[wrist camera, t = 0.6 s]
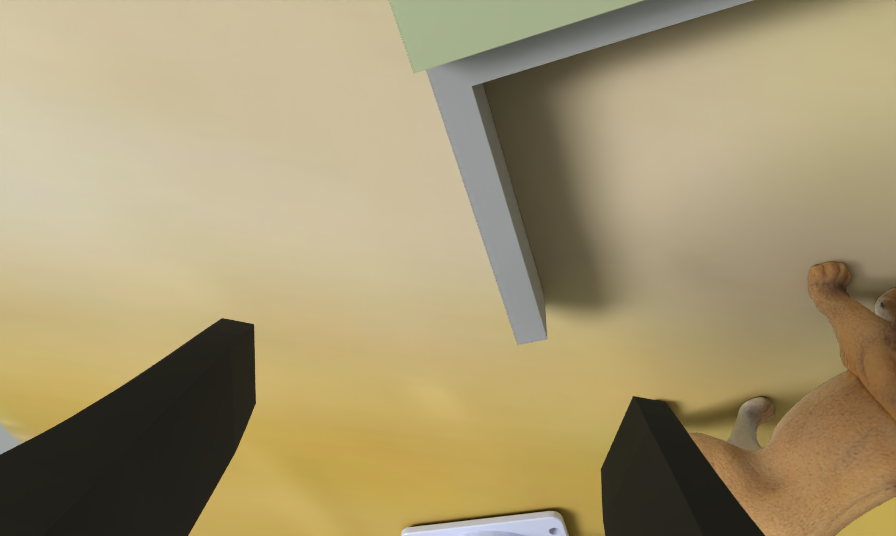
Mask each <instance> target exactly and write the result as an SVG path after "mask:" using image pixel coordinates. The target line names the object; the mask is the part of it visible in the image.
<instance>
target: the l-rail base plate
mask: <svg viewBox="0 0 896 536" xmlns="http://www.w3.org/2000/svg"><path fill="white" fill-rule="evenodd" d="M749 1H753V0H389V3H390V6H391V8H392V11H393V14H394V17H395V20H396V23H397V26H398V29H399V32H400V35H401V38H402V40H403V43H404V46H405V49H406V52H407V55H408V58H409V61H410V64H411V67H412V70H413V73H417V72H420V71H424V70H426V71H427V74H428V77H429V80H430V83H431V86H432V89H433V92H434V95H435V98H436V101H437V104H438V107H439V110H440V113H441V116H442V119H443V122H444V125H445V128H446V131H447V134H448V137H449V140H450V143H451V146H452V149H453V152H454V155H455V158H456V161H457V164H458V167H459V170H460V173H461V176H462V179H463V182H464V185H465V188H466V191H467V194H468V197H469V200H470V203H471V206H472V210H473V213H474V216H475V219H476V222H477V225H478V228H479V231H480V234H481V237H482V240H483V243H484V246H485V249H486V252H487V255H488V258H489V261H490V264H491V267H492V270H493V273H494V276H495V279H496V282H497V285H498V288H499V291H500V294H501V297H502V300H503V303H504V306H505V309H506V312H507V315H508V318H509V321H510V324H511V327H512V330H513V333H514V336H515V339H516V342H517V345H519V344H525V343H530V342H535V341H541V340H546V339H547V327H546V313H545V298H544V293H543V290H542V286H541V283H540V280H539V276H538V273H537V269H536V266H535V262H534V259H533V255H532V252H531V249H530V245H529V242H528V238H527V235H526V231H525V228H524V224H523V221H522V217H521V214H520V211H519V207H518V204H517V200H516V197H515V193H514V190H513V186H512V183H511V179H510V176H509V173H508V169H507V166H506V162H505V159H504V155H503V152H502V148H501V145H500V142H499V138H498V135H497V131H496V128H495V124H494V121H493V117H492V114H491V110H490V107H489V104H488V100H487V97H486V93H485V90H484V86H483V83H484V82H487V81H491V80H494V79H497V78H500V77H504V76H507V75H510V74H513V73H517V72H520V71H523V70H527V69H530V68H533V67H536V66H540V65H543V64H546V63H550V62H553V61H556V60H559V59H563V58H566V57H569V56H572V55H576V54H579V53H582V52H586V51H589V50H592V49H595V48H599V47H602V46H605V45H609V44H612V43H615V42H618V41H622V40H625V39H628V38H631V37H635V36H638V35H641V34H645V33H648V32H651V31H654V30H658V29H661V28H664V27H668V26H671V25H674V24H677V23H681V22H684V21H687V20H690V19H694V18H697V17H700V16H704V15H707V14H710V13H713V12H717V11H720V10H723V9H727V8H730V7H733V6H736V5H740V4H743V3H746V2H749Z"/></svg>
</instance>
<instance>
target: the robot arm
mask: <svg viewBox="0 0 896 536" xmlns="http://www.w3.org/2000/svg"><path fill="white" fill-rule="evenodd" d="M255 404H256V393H255V347H254V324H250V323H245V322H239V321H234V320H229V319H223V318H222V319H220V320H219V321H217V322H216V323H214V324H213V325H211V326H210V327H208V328H207V329H205V330H204V331H202V332H201V333H200V334H198V335H197V336H195V337H194V338H192V339H191V340H189V341H188V342H187V343H185V344H184V345H182V346H181V347H179V348H178V349H176V350H175V351H174V352H172V353H171V354H169V355H168V356H166V357H165V358H163V359H162V360H161V361H159V362H158V363H156V364H155V365H153V366H152V367H150V368H149V369H147V370H145V371H144V372H142V373H141V374H139V375H138V376H136V377H135V378H133V379H132V380H130V381H129V382H127V383H126V384H124V385H123V386H121V387H120V388H118V389H117V390H115V391H113V392H112V393H110V394H108V395H107V396H105V397H104V398H102V399H100V400H99V401H97V402H95V403H94V404H92V405H90V406H89V407H87V408H85V409H84V410H82V411H80V412H79V413H77V414H75V415H74V416H72V417H70V418H69V419H67V420H65V421H63V422H62V423H60V424H58V425H56V426H55V427H53V428H51V429H49V430H47V431H45V432H43V433H42V434H40V435H38V436H36V437H34V438H32V439H30V440H28V441H26V442H24V443H22V444H20V445H18V446H16V447H15V448H13V449H11V450H9V451H7V452H5V453H3V454H1V455H0V536H188V535H189V533H190V531H191V530H192V528H193V526H194V524H195V523H196V521H197V519H198V517H199V516H200V514H201V512H202V510H203V509H204V507H205V505H206V503H207V502H208V500H209V498H210V496H211V495H212V493H213V491H214V489H215V488H216V486H217V484H218V482H219V481H220V479H221V477H222V475H223V473H224V472H225V470H226V468H227V466H228V465H229V463H230V461H231V459H232V457H233V456H234V454H235V452H236V450H237V447H238V445H239V443H240V440H241V438H242V436H243V433H244V431H245V429H246V426H247V424H248V421H249V419H250V416H251V414H252V411H253V409H254V406H255ZM601 482H602V507H603V523H604V529H605V536H765V535H764V533H763V532H762V531H761V530H760V529H759V527H758V526H757V525H756V524H755V522H754V521H753V520H752V518H751V517H750V516H749V515H748V513H747V512H746V511H745V510H744V508H743V507H742V506H741V504H740V503H739V502H738V501H737V499H736V498H735V497H734V495H733V494H732V493H731V491H730V490H729V489H728V487H727V486H726V485H725V483H724V482H723V481H722V479H721V478H720V477H719V475H718V474H717V473H716V471H715V470H714V469H713V467H712V466H711V464H710V463H709V462H708V460H707V459H706V458H705V456H704V455H703V453H702V452H701V451H700V449H699V448H698V446H697V445H696V444H695V442H694V441H693V439H692V438H691V437H690V435H689V434H688V432H687V431H686V430H685V428H684V427H683V425H682V424H681V423H680V421H679V420H678V418H677V417H676V416H675V414H674V413H673V411H672V410H671V409H670V407H669V406H668V405H667V403H666V402H661V401H656V400H651V399H646V398H640V397H635V396H633V398H632V400H631V402H630V405H629V407H628V409H627V412H626V414H625V416H624V418H623V421H622V423H621V425H620V427H619V430H618V432H617V434H616V436H615V439H614V441H613V443H612V445H611V448H610V450H609V452H608V454H607V457H606V459H605V461H604V464H603V466H602V468H601ZM401 536H569V534H568V531H567V528H566V526H565V523H564V520H563V517H562V515H561V514H560V513H558V512H556V511H544V512H535V513H527V514H518V515H510V516H501V517H493V518H484V519H475V520H467V521H458V522H450V523H441V524H432V525H424V526H415V527H408V528H405V529H404V530H403V531H402V534H401Z"/></svg>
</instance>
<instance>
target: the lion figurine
mask: <svg viewBox="0 0 896 536" xmlns="http://www.w3.org/2000/svg"><path fill="white" fill-rule="evenodd" d="M850 280H851V275H850V273H849V272H848V271H847V270H846V266H845V265H844V264H843V263H840V262H826V263H823V264H818V265H814V266H813V267H812V268H811V270H810V272H809V276H808V291H809V293H810V296H811V297H812V299H813V300H814V301H815V303H816V306H817V308H818V309H819V311H820V312H821V313H823V314H824V315H825V316H826V317H827V318H828V320H829V321H830V323H831V324H832V326H833V329H834V331H835V334H836V337H837V340H838V342H839V346H840V356H841V359H842V362H843V364H844V365H845V367H846V368H847V369H848V370H847V371H845V372H843V373H841V374H839V375H838V376H836V377H834V378H832V379H830V380H829V381H827V382H825V383H824V384H822V385H820V386H819V387H817V388H815V389H814V390H812V391H811V392H809V393H808V394H807V395H806V396H804V397H803V398H802V399H801V400H800V401H798V402H797V403H796V404H795V405H794V406H793V407H792V408H791V409H790V410H789V411H788V412H787V413H786V414H785V415H784V417H783V418H782V419H781V420H780V421H779V423H778V424H777V426H776V427H775V429H774V431H773V434H772V437H771V440H770V442H769V444H768V445H767V446H766V447H765V448H763V449H762V448H761V447H760V445H759V443H758V441H757V438H756V430H757V428H758V426H759V425H760V424H762V423H766V422H769V421H770V420H771V419H772V417H773V416H774V414H775V411H776V409H775V406H774V405H773V403H772V402H770V401H769V400H768V399H766V398H764V397H757V398H753V399H751V400H749V401H747V402H745V403H744V404H743V405H742V406H741V407H740V409H739V412H738V415H737V419H736V422H735V425H734V428H733V430H732V433H731V435H730V437H729V439H728V442H726V441H723V440H720V439H717V438H715V437H712V436H708V435H705V434H701V433H688V434H689V435H690V437H691V438H692V439H693V441H694V442H695V444H696V445H697V446H698V448H699V449H700V451H701V452H702V453H703V455H704V456H705V458H706V459H707V460H708V462H709V463H710V464H711V466H712V467H713V469H714V470H715V471H716V473H717V474H718V475H719V477H720V478H721V479H722V481H723V482H724V483H725V485H726V486H727V487H728V489H729V490H730V491H731V493H732V494H733V495H734V497H735V498H736V499H737V501H738V502H739V503H740V504H741V506H742V507H743V508H744V510H745V511H746V512H747V513H748V515H749V516H750V517H751V518H752V520H753V521H754V522H755V524H756V525H757V526H758V527H759V529H760V530H761V531H762V532H763V533H764V535H765V536H835V535H836V534H837V533H839V532H840V531H841V530H842V529H843V528H845V527H846V526H847V525H849V524H850V523H851V522H853V521H854V520H855V519H857V518H859V517H860V516H862V515H863V514H865V513H866V512H868V511H870V510H871V509H873V508H875V507H877V506H878V505H880V504H882V503H884V502H886V501H888V500H890V499H892V498H894V497H896V287H895V288H892V289H890V290H888V291H886V292H885V293H883V294H882V295H881V296H880V297H879V298H878V299H877V301H876V303H875V309H874V310H875V313H873V312H872V311H870V310H869V309H867V308H866V307H864V306H863V305H861V304H860V303H858V302H856V301H855V300H853V299H851V298H850V296H849V294H848V293H847V292H846V288H847V286H848V284H849V283H850Z"/></svg>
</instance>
